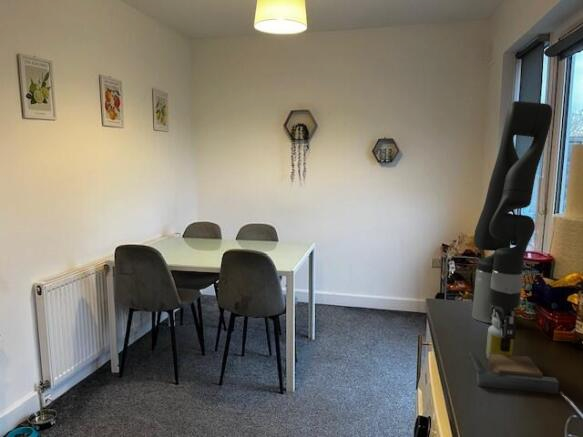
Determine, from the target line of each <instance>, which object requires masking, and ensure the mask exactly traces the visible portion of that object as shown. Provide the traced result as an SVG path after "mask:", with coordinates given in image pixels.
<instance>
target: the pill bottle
mask: <svg viewBox="0 0 583 437" xmlns="http://www.w3.org/2000/svg"><path fill="white" fill-rule="evenodd" d="M492 323H493V325H492V324H491V326H489V327H488V330H487V337H486V349H485V357H486V359H487V360H489V353H490V354H501V355H512V356H513V347H514V340H515V339H511V342H510V351H509V352H503V351H501V350H500V344H501V330H500V329H499V328H498V319H497V318H496V317H493V320H492ZM503 326H504V325H503ZM507 334H509V331H507Z"/></svg>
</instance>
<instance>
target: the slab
mask: <svg viewBox="0 0 583 437" xmlns="http://www.w3.org/2000/svg"><path fill="white" fill-rule="evenodd" d="M523 356H524V355H523ZM523 356H521V355H513V354H512V355H501V354H490V353H489V359H487V361H488V362H487V367H488V369H489V372H500V373H510V374H521V375H531V376H543V375H544V374H543V372H542V371H541V370H540V369H539V368H538V366H537V365H536V364H535V362H534V361H533V359H531V357H530V356H527V357H523ZM543 377H544V376H543Z"/></svg>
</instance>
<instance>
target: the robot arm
mask: <svg viewBox="0 0 583 437" xmlns="http://www.w3.org/2000/svg"><path fill="white" fill-rule="evenodd" d="M505 115H506V116H505V120H504V125H503V130H502V134H501V139H500V145H499V150H498V153H497V156H496V159H495V164H494V168H493V169H492V173H491V176H490V180H489V184H488V188H487V193H486V197H485V201H484V204H483V208H482V210H481V213H480V215H479V218H478V222H477V224H476V226H475V229H474V234H473V244H474V246H475V248H476V250H477V249H478V250H481V251H493V253H492V254H490V255H489V256H486V257H482V258H480V259H478V260H477V261H476V269H475V270H476V271H475V281H474V282H475V283H474V291H473V292H474V293H473V301H472V302H473V303H472V314H471V315H472V318H473V319H474V320H475V321H476V320H477V321H479V322H482V323H487V324H491V326H492V325H493V323H492V320H493V317H496V318H497V319H498V328H499V329H500V330H501V344H500V350H501V351H503V352H509V351H510V342H511V339H514V340H516V331H517V316H514V314H513V311H512V310H514V309H518V307H520V305H521V304H520V303H521V296H522V288H523V287H522V286H523V285H522V284H523V265H524V258H525V254H526V252H527V248H528V245H529V243H530V241H531V239H532V237H533V235H534V232H535V229H536V224H535V221H534V219H533V218H532V217H531V216H529V215H525V214H524V215H523V214H513V213H510V212H512V211H513V210H518V209H525V208H528V207H529V206H530V205H531V203H532V198H533V193H534V192H533V191H534V185H535V179H536V175H537V172H538V168H539V165H540V162H541V159H542V155H543V151H544V149H545V146H546V142H547V139H548V134H549V131H550V128H551V124H552V118H553V108H552V106H551V104H548V103H543V102H533V101H532V102H531V101H522V100H521V101H520V100H516V101H515V100H514V101H513V102H512V103H510V104H509V107H508V108H507V112H506V114H505ZM515 136H519V137H527V138H528V137H529V138H533V139H532V142H531V144H530V146H529V148H528V149H527V150H526V152H525V153H524V154H523V155H522V156H521V157H520V158H519V155H518V153H517V150H516V146H515V142H514V139H515ZM512 242H516V245H514V246H512V247H511V245H512ZM503 325H504V326H503ZM507 331H509V334H507Z"/></svg>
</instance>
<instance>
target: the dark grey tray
mask: <svg viewBox="0 0 583 437" xmlns="http://www.w3.org/2000/svg"><path fill="white" fill-rule="evenodd" d="M523 357H528V356H526V355H523ZM469 358H470V360H471V362H472V364H473V367H474V368H475V370H476V379H475V380H476V381H475V382H476V384H477V386H478V387H487V388H498V389H505V390H506V389H507V390H517V391H527V392H538V393H546V394H558V392H559V391H558V390H559V386H560V385H559V383H560V381H558V379H557V377H550V376H531V375H521V374H510V373H500V372H491V371H490V370H489V371H486V370H484V368H483V366H482V365H481V363H480V361H479V359H478V357H477V355H476V354H475V352H474V351H469Z"/></svg>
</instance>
